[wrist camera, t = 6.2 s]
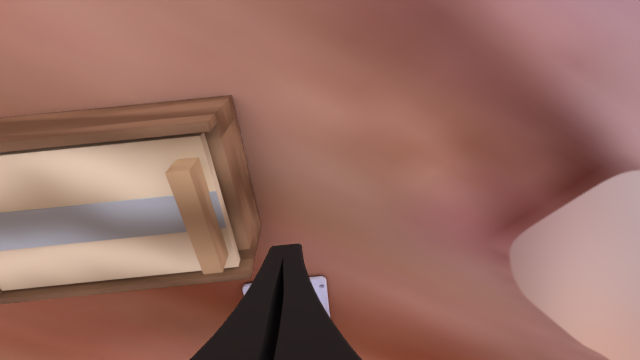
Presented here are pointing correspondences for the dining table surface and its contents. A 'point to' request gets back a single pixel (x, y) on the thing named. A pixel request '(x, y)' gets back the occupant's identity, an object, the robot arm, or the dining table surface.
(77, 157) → the lid
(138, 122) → the keepsake box
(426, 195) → the dining table surface
